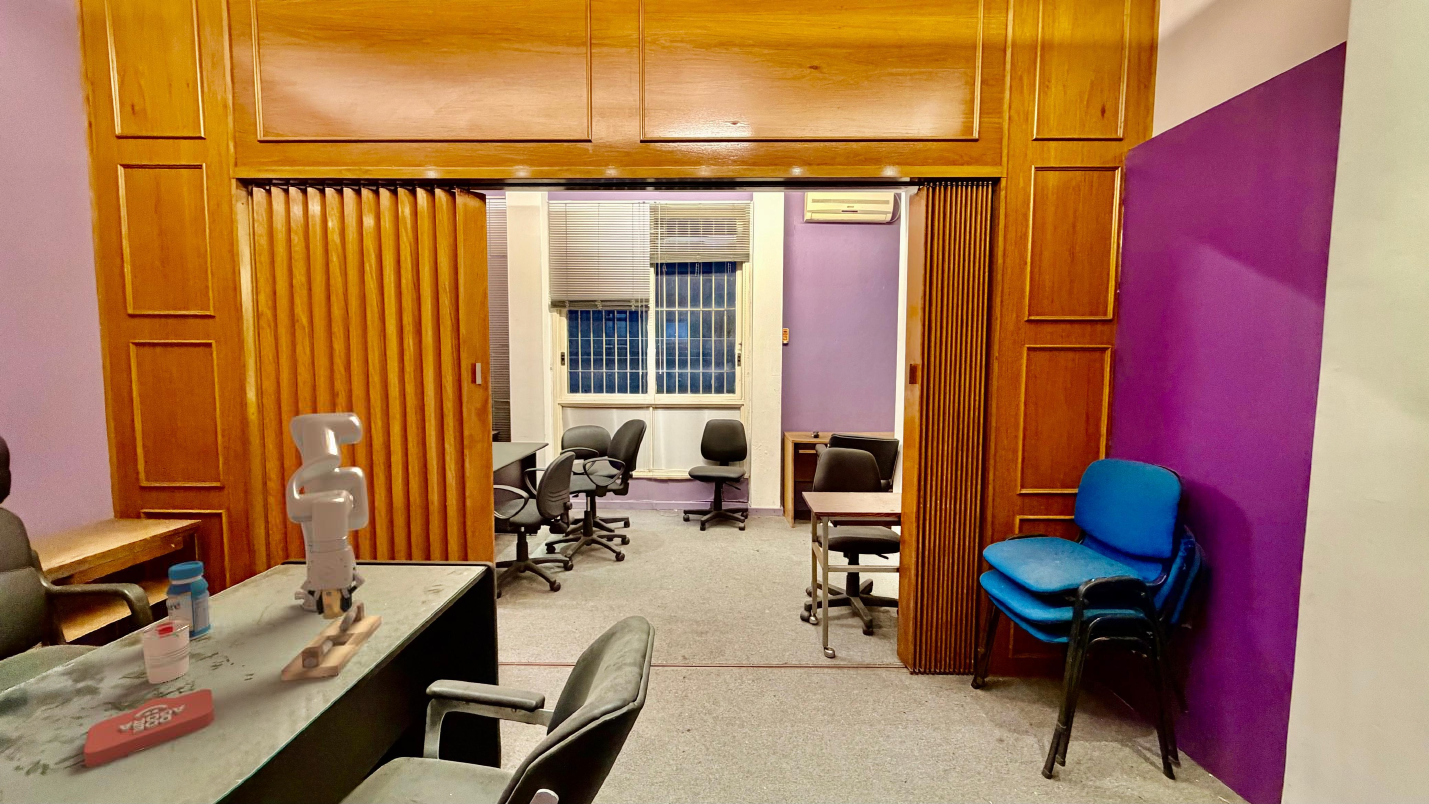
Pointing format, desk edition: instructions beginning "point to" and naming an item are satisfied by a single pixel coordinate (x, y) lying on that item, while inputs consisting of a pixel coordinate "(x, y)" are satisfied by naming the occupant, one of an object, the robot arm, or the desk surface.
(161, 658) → the striped cup with float
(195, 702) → the plaque
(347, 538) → the robot arm
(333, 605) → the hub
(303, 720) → the desk surface
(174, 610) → the blue supplement bottle
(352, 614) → the shaft jig
